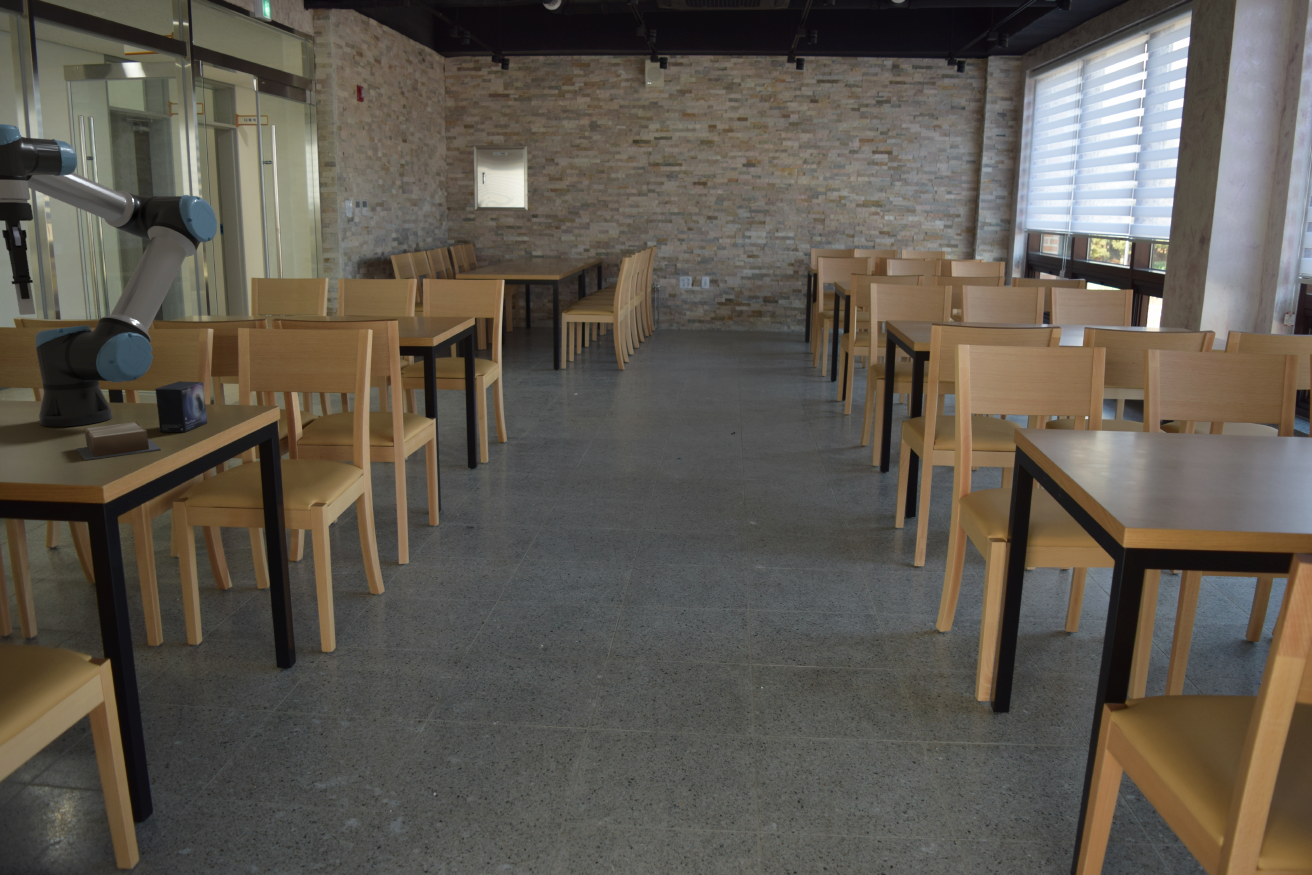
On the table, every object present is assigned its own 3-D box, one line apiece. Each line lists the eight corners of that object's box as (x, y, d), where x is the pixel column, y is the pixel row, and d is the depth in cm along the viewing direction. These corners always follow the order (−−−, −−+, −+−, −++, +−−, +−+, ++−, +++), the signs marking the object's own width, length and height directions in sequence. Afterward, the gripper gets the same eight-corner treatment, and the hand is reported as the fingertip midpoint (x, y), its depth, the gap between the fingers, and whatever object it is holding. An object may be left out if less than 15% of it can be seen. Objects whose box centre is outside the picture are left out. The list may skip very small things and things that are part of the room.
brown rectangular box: (84, 427, 196) (92, 437, 187) (136, 421, 202) (146, 430, 193) (86, 446, 197) (95, 456, 188) (138, 439, 203) (149, 449, 194)
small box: (186, 433, 211) (181, 388, 208) (158, 433, 211) (153, 388, 208) (209, 423, 221) (204, 380, 219) (183, 423, 221) (177, 380, 219)
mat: (76, 449, 195) (76, 448, 195) (149, 440, 204) (149, 438, 204) (84, 460, 186) (84, 459, 186) (160, 450, 194) (160, 448, 194)
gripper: (-15, 202, 193) (4, 313, 199) (-11, 200, 183) (8, 317, 189) (27, 202, 198) (44, 311, 203) (33, 201, 188) (51, 315, 193)
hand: (27, 314), depth 196 cm, fingers closed
